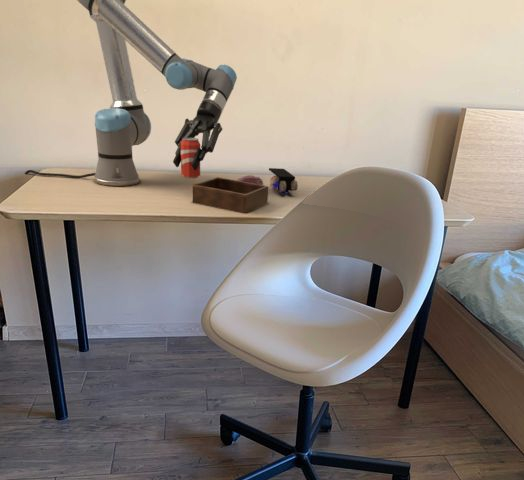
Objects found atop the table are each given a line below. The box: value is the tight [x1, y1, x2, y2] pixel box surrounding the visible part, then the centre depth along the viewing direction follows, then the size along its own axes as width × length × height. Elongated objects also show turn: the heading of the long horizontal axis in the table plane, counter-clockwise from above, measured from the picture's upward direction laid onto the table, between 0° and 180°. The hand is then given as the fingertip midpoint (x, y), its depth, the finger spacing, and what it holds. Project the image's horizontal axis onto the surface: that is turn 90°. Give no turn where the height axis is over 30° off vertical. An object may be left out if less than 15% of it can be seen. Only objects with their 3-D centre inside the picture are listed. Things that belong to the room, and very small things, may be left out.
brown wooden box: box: [191, 176, 269, 214], centre depth 167 cm, size 20×16×6 cm
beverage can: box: [180, 137, 201, 179], centre depth 168 cm, size 6×6×12 cm
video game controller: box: [236, 174, 264, 185], centre depth 182 cm, size 10×5×7 cm, turn 105°
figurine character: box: [268, 167, 299, 197], centre depth 184 cm, size 7×8×15 cm
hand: (184, 166), depth 166 cm, fingers closed on beverage can, 6 cm apart
